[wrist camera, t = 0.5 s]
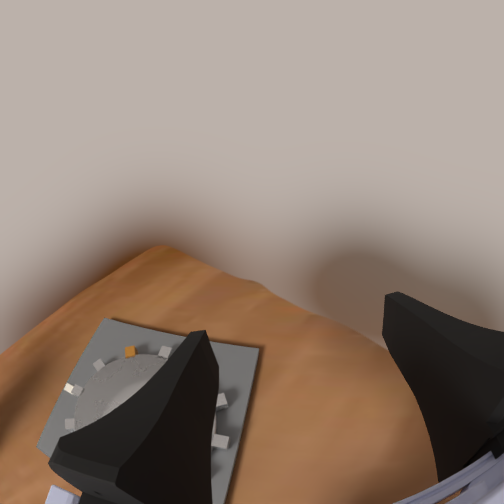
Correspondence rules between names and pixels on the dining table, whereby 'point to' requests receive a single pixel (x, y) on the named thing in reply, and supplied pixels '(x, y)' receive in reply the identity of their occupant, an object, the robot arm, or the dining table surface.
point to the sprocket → (126, 389)
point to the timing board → (150, 342)
